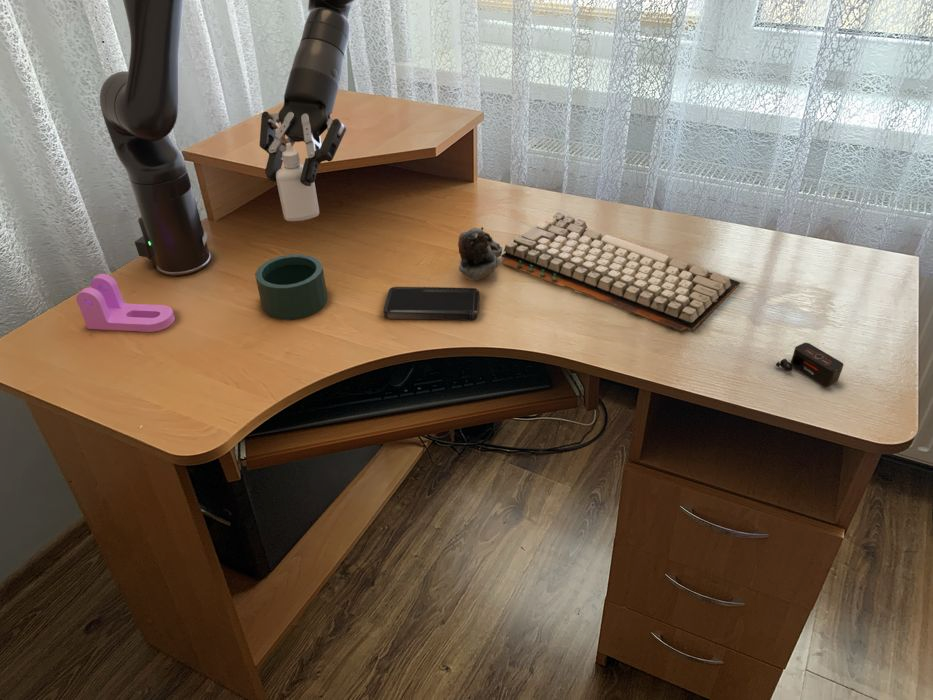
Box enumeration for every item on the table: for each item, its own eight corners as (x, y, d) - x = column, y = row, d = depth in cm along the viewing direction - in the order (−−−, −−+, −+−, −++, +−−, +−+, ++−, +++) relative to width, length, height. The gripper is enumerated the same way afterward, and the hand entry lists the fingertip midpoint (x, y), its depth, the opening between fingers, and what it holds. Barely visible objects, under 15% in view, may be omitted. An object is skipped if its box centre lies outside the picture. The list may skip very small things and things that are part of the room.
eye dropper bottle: (313, 223, 115) (300, 150, 108) (280, 221, 116) (265, 148, 109) (323, 211, 118) (311, 139, 111) (290, 208, 119) (276, 137, 112)
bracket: (88, 328, 117) (72, 291, 113) (105, 309, 121) (91, 273, 117) (165, 332, 116) (152, 295, 111) (180, 312, 120) (168, 276, 116)
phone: (476, 314, 115) (382, 312, 116) (476, 320, 116) (382, 318, 117) (479, 287, 121) (390, 285, 123) (479, 293, 122) (390, 291, 123)
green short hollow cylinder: (249, 313, 119) (242, 281, 116) (284, 280, 127) (278, 250, 124) (306, 324, 116) (300, 292, 113) (338, 290, 124) (333, 259, 121)
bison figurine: (465, 252, 134) (463, 201, 128) (503, 253, 133) (504, 202, 127) (456, 287, 124) (453, 234, 118) (497, 289, 123) (497, 235, 117)
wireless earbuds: (796, 356, 106) (801, 338, 104) (839, 383, 101) (845, 364, 100) (774, 367, 105) (779, 349, 103) (816, 395, 100) (823, 376, 98)
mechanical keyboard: (740, 283, 123) (744, 266, 121) (689, 337, 111) (693, 319, 109) (551, 223, 142) (552, 207, 140) (491, 263, 131) (491, 247, 129)
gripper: (366, 94, 115) (340, 196, 113) (286, 86, 119) (260, 185, 118) (346, 69, 108) (318, 178, 106) (262, 62, 112) (234, 167, 110)
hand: (288, 181), depth 112 cm, fingers closed on eye dropper bottle, 5 cm apart
